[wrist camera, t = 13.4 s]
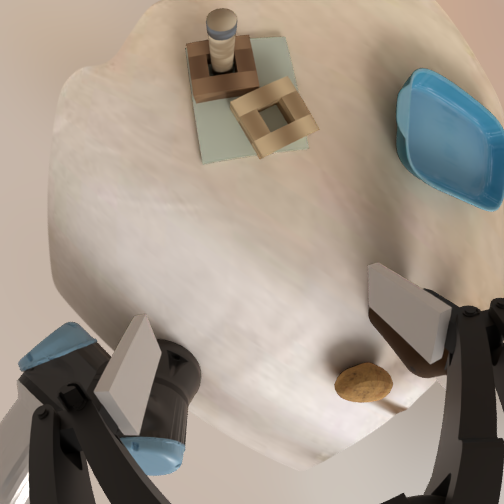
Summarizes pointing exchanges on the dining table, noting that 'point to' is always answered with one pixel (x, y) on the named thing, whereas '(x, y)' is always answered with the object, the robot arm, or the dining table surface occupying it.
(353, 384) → the potato
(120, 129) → the dining table surface
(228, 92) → the brown square wooden frame
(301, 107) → the light wooden square frame
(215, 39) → the banded wooden cylinder
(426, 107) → the casserole dish
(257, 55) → the pale green flat mat
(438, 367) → the olive oil
